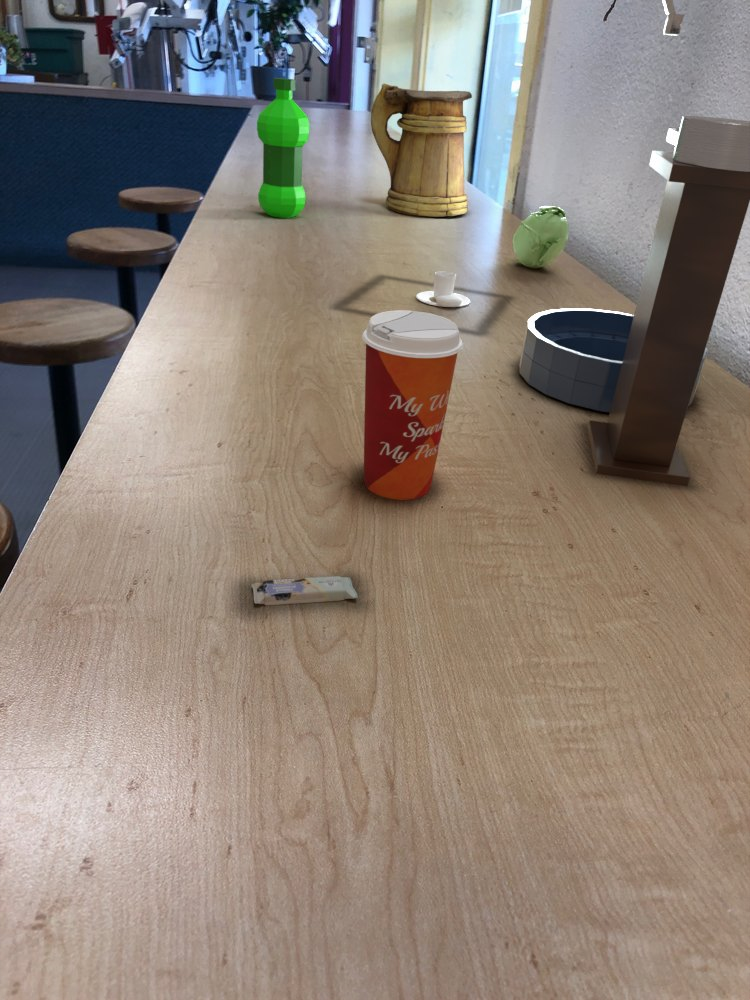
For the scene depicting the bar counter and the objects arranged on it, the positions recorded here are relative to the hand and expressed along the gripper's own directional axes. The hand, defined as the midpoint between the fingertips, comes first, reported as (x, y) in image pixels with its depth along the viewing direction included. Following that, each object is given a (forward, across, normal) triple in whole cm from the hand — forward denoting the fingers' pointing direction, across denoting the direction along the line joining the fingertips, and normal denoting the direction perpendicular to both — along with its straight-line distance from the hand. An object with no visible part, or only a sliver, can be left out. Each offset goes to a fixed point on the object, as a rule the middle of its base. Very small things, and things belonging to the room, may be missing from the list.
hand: (718, 39), depth 80 cm
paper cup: (+35, +22, +40) cm, 58 cm away
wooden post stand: (+35, +2, +27) cm, 45 cm away
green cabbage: (+35, +14, -45) cm, 59 cm away
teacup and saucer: (+35, +28, -14) cm, 47 cm away
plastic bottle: (+36, +66, -63) cm, 98 cm away
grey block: (+9, +2, +22) cm, 24 cm away
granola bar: (+35, +25, +58) cm, 72 cm away
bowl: (+35, +4, +8) cm, 36 cm away
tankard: (+36, +42, -90) cm, 105 cm away
